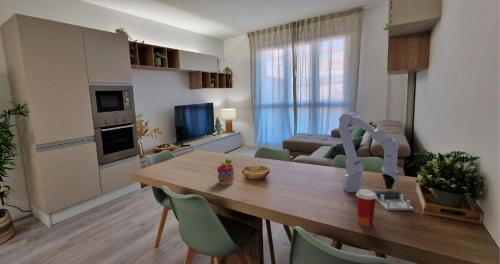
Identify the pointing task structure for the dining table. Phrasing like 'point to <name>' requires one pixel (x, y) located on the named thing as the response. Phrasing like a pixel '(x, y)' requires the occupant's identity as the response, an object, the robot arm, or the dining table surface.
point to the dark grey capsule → (388, 194)
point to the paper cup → (365, 207)
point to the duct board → (394, 203)
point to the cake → (225, 173)
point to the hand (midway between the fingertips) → (388, 188)
